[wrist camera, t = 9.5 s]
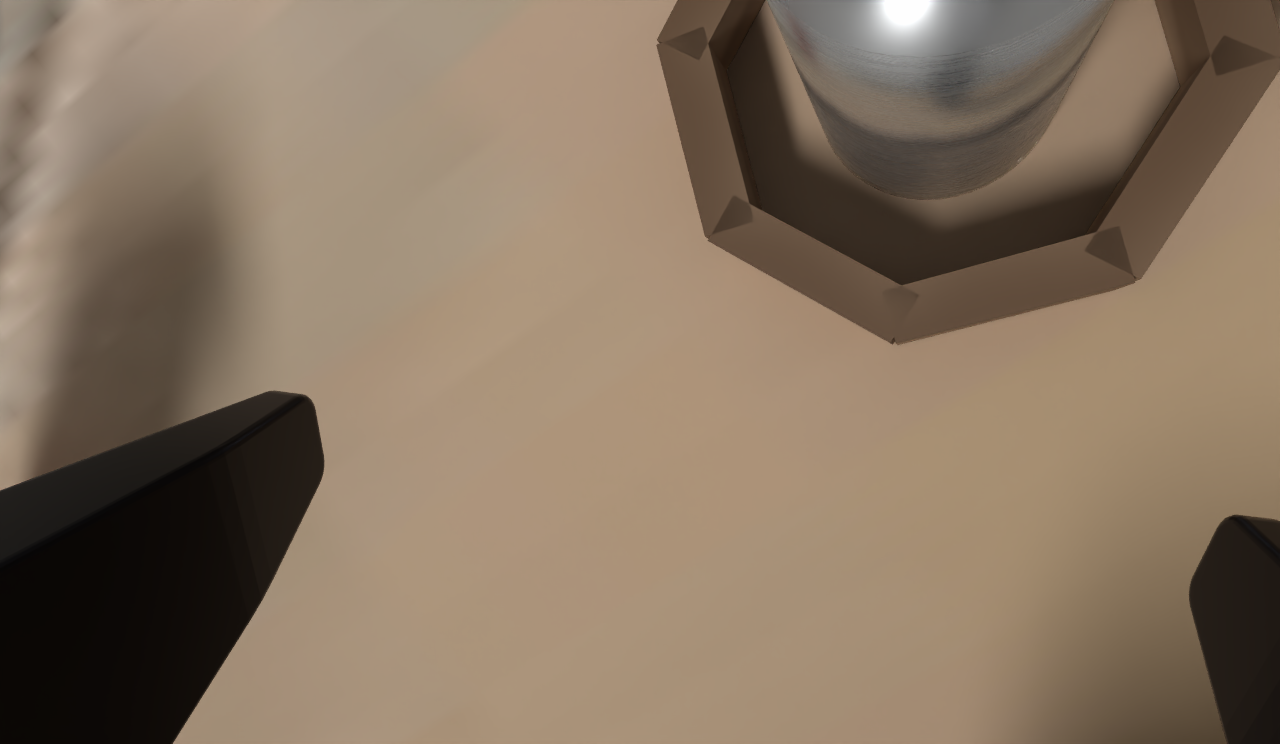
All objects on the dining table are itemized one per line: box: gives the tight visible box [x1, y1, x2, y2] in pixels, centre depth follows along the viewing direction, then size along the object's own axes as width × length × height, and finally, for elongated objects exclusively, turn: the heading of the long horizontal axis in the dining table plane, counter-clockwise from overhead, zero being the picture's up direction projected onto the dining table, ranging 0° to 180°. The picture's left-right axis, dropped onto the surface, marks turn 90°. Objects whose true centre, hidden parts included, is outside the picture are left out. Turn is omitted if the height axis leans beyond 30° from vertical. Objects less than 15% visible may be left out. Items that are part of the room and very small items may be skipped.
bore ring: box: [657, 0, 1280, 345], centre depth 19 cm, size 12×12×2 cm
